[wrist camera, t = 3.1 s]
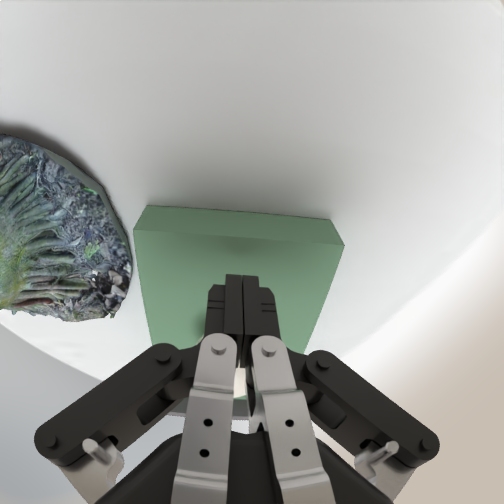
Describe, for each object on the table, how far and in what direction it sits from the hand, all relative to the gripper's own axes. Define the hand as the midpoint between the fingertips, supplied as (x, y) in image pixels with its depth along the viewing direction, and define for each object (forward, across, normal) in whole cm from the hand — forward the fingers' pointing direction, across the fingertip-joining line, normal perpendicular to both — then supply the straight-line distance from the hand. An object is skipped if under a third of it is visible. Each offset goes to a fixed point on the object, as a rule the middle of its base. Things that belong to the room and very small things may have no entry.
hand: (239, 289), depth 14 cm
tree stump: (+6, +18, +2) cm, 19 cm away
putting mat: (+6, 0, +9) cm, 11 cm away
